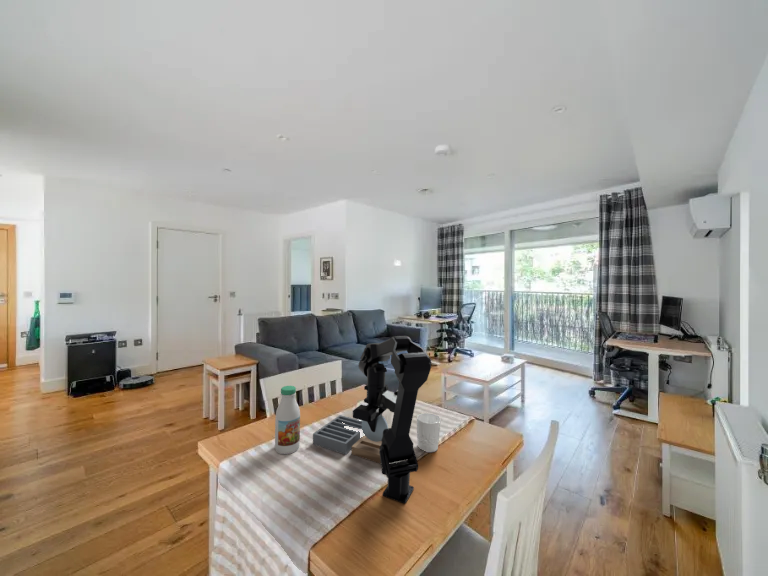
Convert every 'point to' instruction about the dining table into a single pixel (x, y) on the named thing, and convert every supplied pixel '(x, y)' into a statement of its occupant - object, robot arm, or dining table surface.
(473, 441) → the dining table surface
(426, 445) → the white cup
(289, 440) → the milk bottle
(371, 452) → the plate stand
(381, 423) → the plate
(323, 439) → the dish rack
